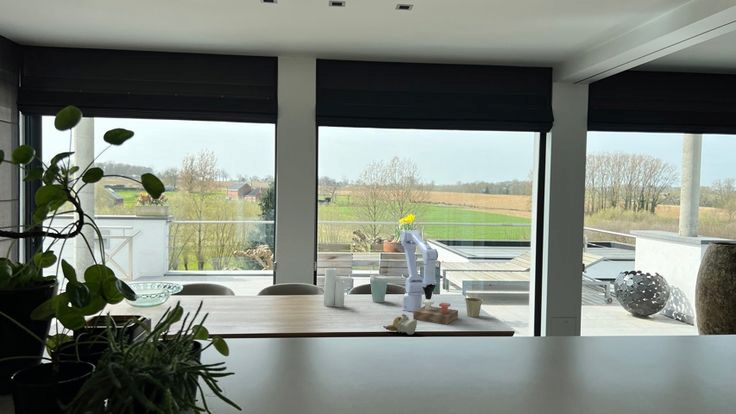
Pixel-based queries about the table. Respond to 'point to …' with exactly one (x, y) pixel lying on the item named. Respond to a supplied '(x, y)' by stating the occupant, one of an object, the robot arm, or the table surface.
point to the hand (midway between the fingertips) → (428, 299)
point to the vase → (333, 288)
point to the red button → (444, 307)
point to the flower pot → (473, 306)
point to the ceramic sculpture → (403, 325)
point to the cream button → (428, 304)
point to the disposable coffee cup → (378, 287)
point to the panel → (435, 315)
